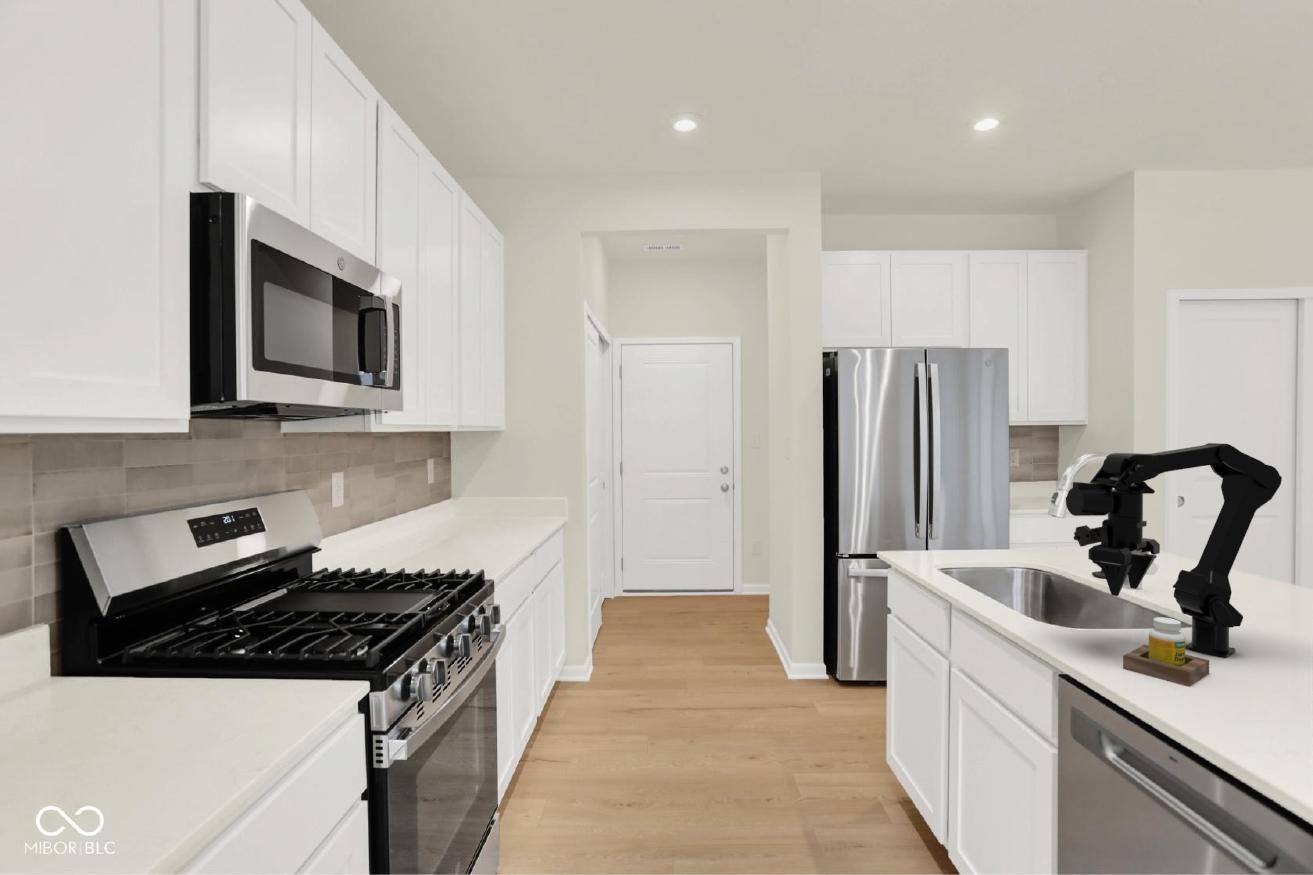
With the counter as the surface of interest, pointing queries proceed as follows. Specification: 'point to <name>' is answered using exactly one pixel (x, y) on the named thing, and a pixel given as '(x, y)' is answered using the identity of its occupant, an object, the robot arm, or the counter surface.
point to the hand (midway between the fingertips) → (1124, 591)
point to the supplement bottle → (1167, 642)
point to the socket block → (1166, 667)
